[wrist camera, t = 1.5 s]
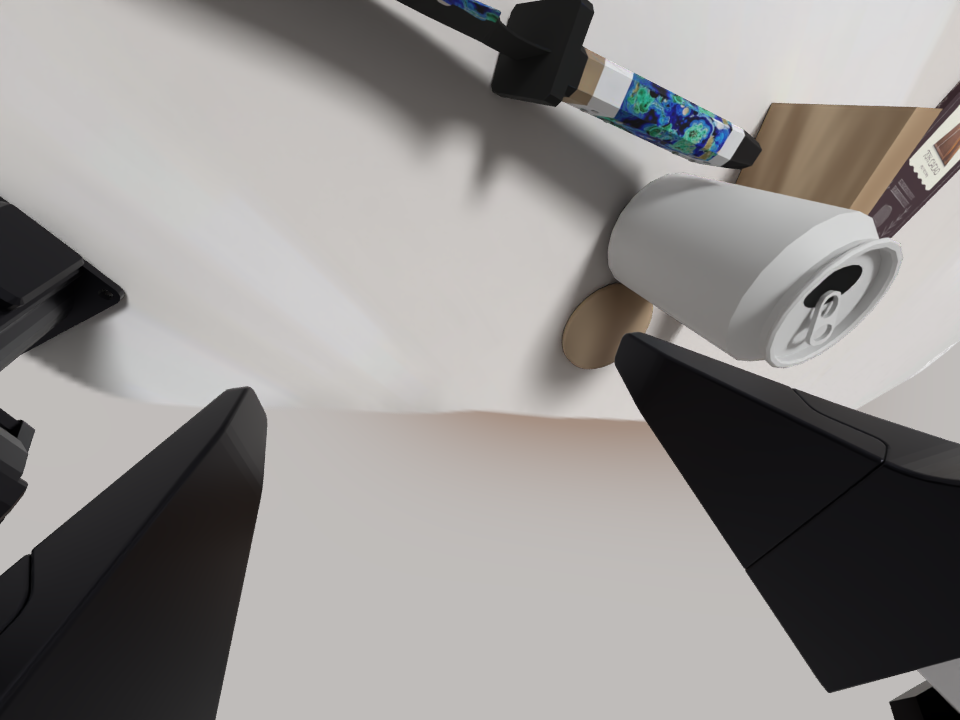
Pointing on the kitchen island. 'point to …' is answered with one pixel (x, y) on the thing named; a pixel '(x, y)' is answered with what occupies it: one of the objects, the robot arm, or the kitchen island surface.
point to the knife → (589, 78)
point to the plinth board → (835, 151)
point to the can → (752, 265)
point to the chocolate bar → (922, 170)
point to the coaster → (604, 325)
